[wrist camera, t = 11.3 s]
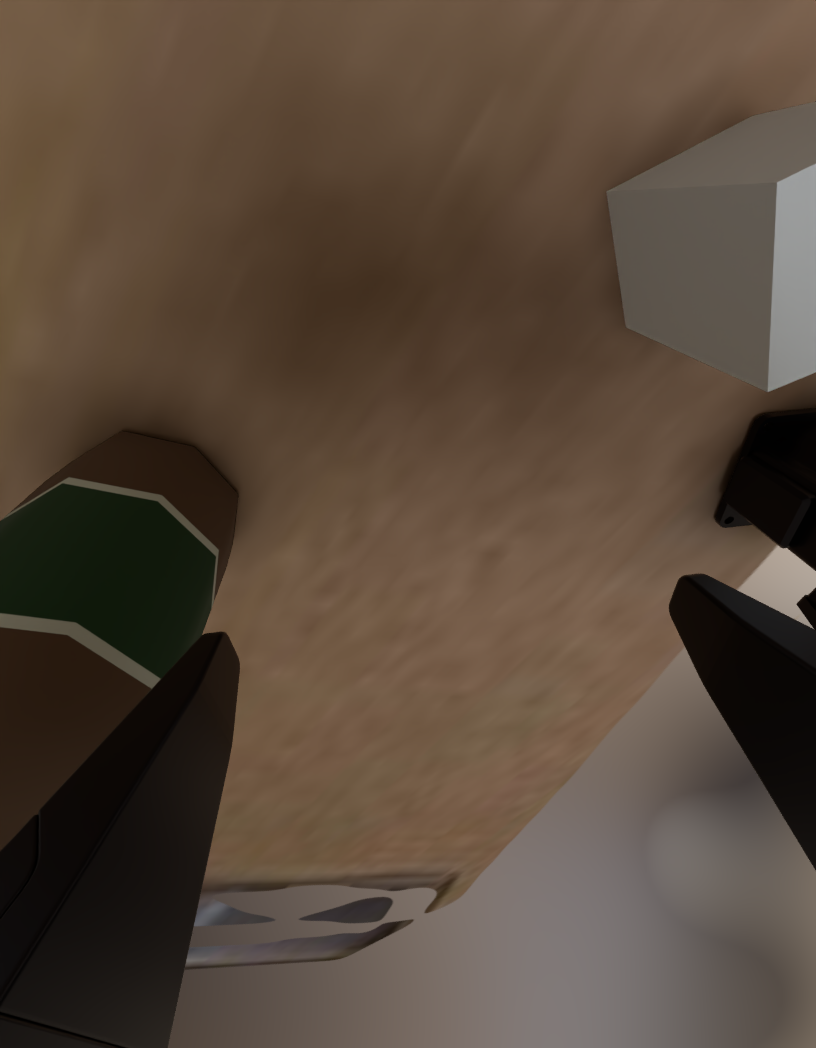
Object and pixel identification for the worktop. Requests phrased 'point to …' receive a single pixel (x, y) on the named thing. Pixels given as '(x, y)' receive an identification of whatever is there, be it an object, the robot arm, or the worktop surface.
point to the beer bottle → (100, 602)
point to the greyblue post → (727, 249)
